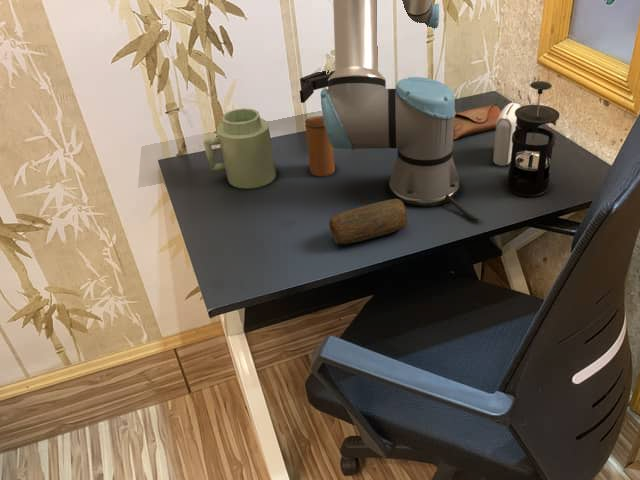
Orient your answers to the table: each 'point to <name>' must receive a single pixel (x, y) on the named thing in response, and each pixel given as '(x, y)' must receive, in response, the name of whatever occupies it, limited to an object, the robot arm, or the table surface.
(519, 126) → the french press
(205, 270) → the table surface
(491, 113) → the sunglasses case
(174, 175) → the table surface
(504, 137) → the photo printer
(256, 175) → the jug
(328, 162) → the brown cylindrical canister
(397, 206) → the brown wooden cylinder
